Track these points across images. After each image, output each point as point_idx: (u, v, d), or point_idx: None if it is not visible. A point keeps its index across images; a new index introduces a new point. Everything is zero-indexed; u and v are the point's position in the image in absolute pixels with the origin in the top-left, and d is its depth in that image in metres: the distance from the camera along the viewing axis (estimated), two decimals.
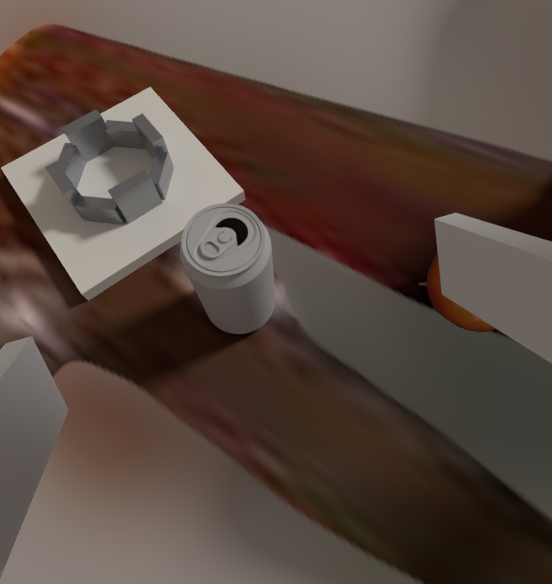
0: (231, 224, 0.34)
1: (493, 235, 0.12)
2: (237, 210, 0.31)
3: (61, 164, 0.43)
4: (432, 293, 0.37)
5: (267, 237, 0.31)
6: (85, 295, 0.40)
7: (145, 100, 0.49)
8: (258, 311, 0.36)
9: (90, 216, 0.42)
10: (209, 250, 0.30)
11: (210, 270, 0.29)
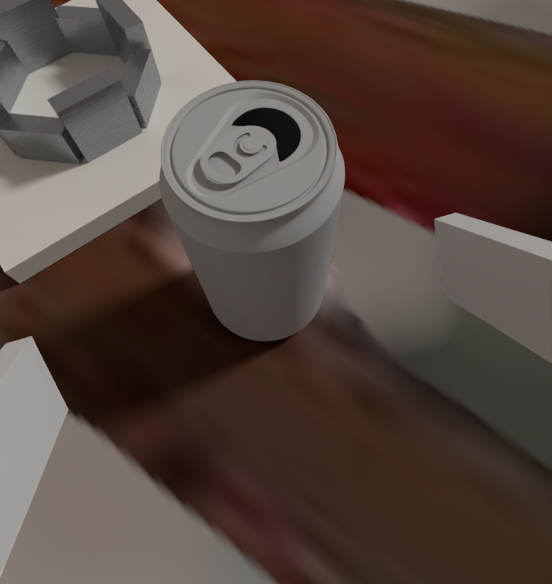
0: None
1: (493, 235, 0.12)
2: (277, 94, 0.15)
3: None
4: None
5: (337, 150, 0.15)
6: (11, 274, 0.25)
7: None
8: (304, 302, 0.20)
9: (25, 149, 0.26)
10: (219, 170, 0.14)
11: (221, 211, 0.13)
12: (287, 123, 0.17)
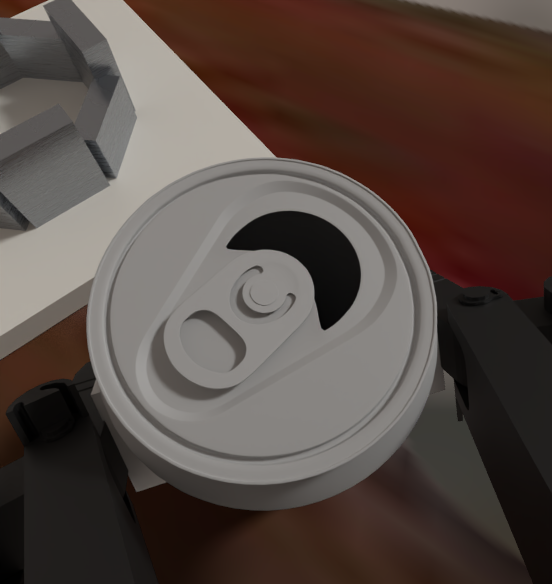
0: (271, 234, 0.12)
1: None
2: (310, 183, 0.08)
3: None
4: None
5: None
6: None
7: None
8: None
9: None
10: (202, 350, 0.07)
11: (206, 449, 0.06)
12: None
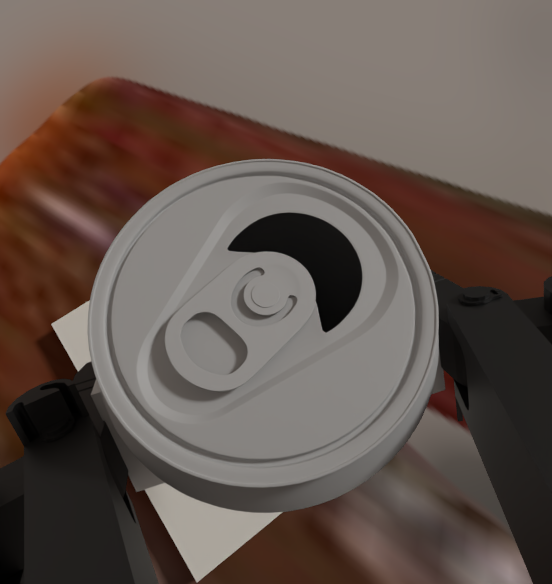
0: (271, 235, 0.12)
1: None
2: (312, 185, 0.08)
3: None
4: None
5: None
6: (200, 578, 0.24)
7: None
8: None
9: None
10: (203, 352, 0.07)
11: (207, 452, 0.06)
12: None
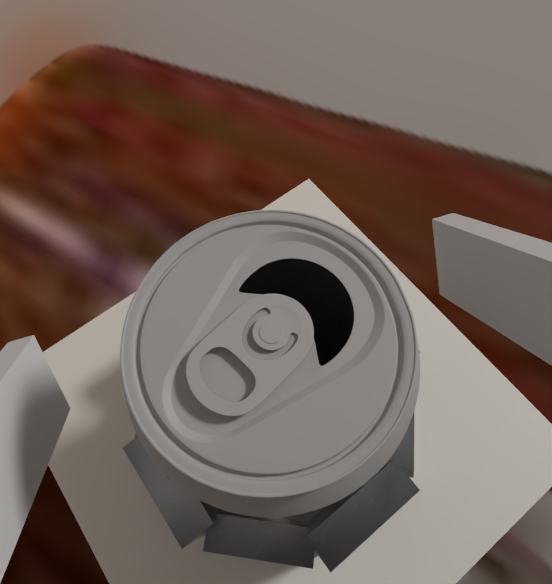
0: (276, 265, 0.13)
1: (490, 235, 0.12)
2: (312, 234, 0.09)
3: None
4: None
5: None
6: None
7: (304, 209, 0.24)
8: None
9: None
10: (218, 381, 0.08)
11: (221, 466, 0.08)
12: None
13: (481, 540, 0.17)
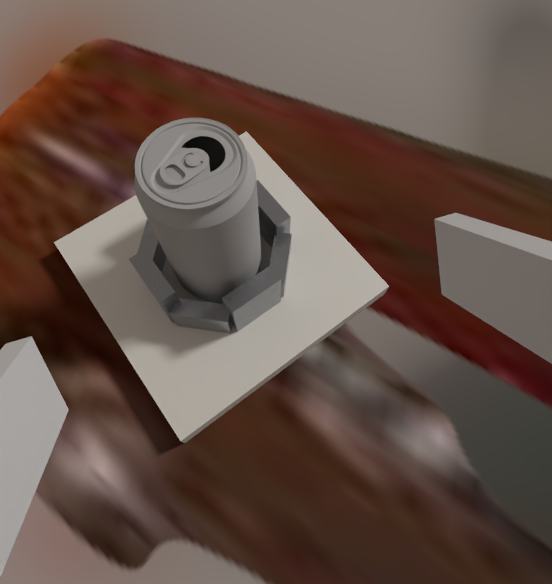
0: None
1: (493, 235, 0.12)
2: (212, 127, 0.23)
3: (145, 248, 0.31)
4: None
5: (251, 165, 0.23)
6: (183, 440, 0.29)
7: None
8: (238, 269, 0.28)
9: (187, 323, 0.30)
10: (171, 176, 0.22)
11: (171, 201, 0.21)
12: None
13: (326, 326, 0.31)
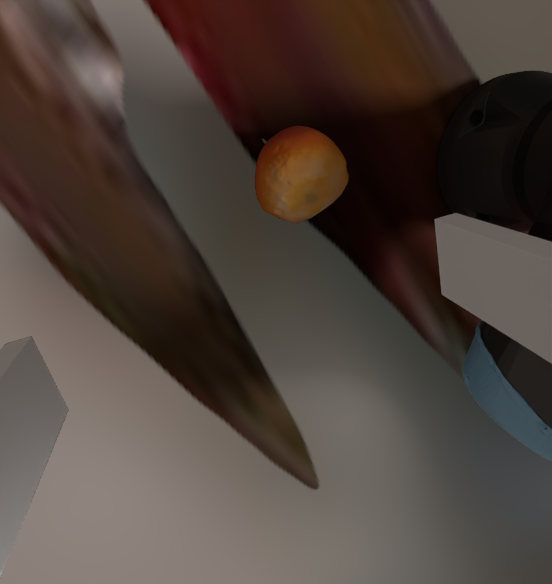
0: None
1: (493, 235, 0.12)
2: None
3: None
4: (256, 167, 0.37)
5: None
6: None
7: None
8: None
9: None
10: None
11: None
12: None
13: None
